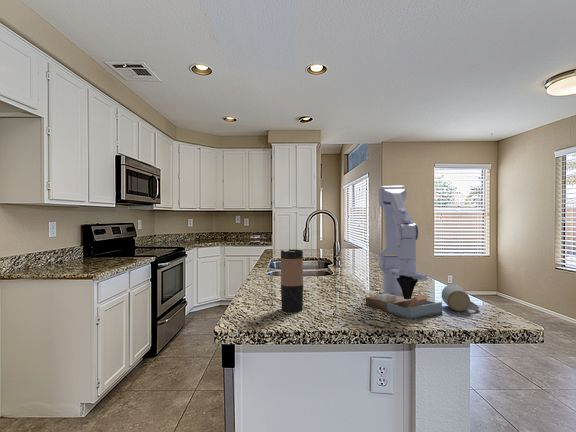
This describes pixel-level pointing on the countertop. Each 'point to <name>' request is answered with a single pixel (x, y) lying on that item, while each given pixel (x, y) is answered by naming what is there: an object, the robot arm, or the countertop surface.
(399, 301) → the walnut board
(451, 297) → the ceramic mug
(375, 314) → the countertop surface
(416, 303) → the terracotta tile
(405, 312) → the tray
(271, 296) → the countertop surface
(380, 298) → the cream tile
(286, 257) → the travel mug
